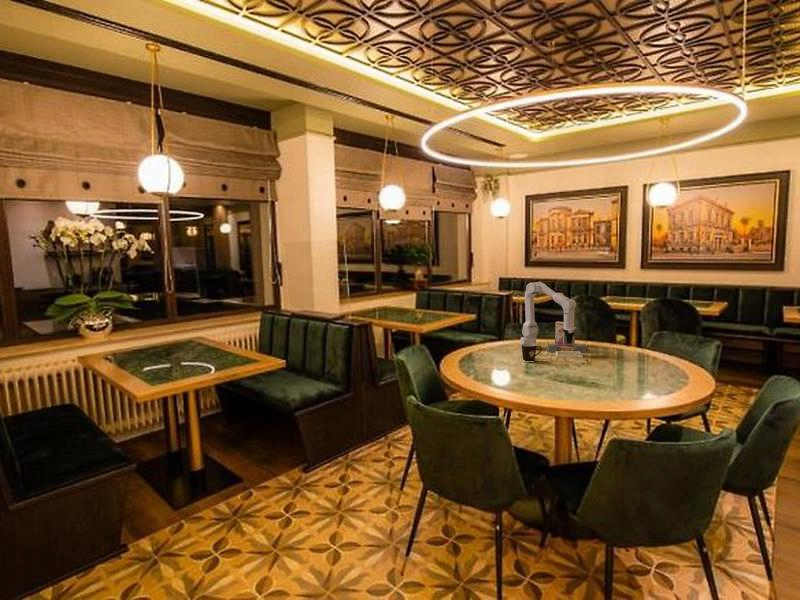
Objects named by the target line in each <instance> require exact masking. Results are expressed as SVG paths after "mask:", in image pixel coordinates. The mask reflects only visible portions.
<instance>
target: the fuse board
mask: <svg viewBox="0 0 800 600" xmlns="http://www.w3.org/2000/svg"><path fill="white" fill-rule="evenodd" d="M571 348H572V350H571V351H575V346H573V347H571ZM545 349H546V350H545V351H546V352H545V354H549V353H548V346H546V348H545ZM588 350H589V348H588V346H586V353H584V354H590V353H589V351H588ZM559 351H562V346H559Z"/></svg>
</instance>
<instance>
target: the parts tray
mask: <svg viewBox="0 0 800 600" xmlns="http://www.w3.org/2000/svg"><path fill="white" fill-rule="evenodd" d="M555 356H556V358H560V359H561V358H563V359H564V358H565V359H567V358H569V359H574V358H575V359H583V358H584V357H583V356H584V355H583V353H581V352H578V351H572V350H561V351H556V353H555Z"/></svg>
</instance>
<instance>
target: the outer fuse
mask: <svg viewBox="0 0 800 600" xmlns="http://www.w3.org/2000/svg"><path fill="white" fill-rule="evenodd" d="M574 347H575V351H578V352H581V354H585V353H586V347H587V345H586V344H585V343H584V344H581V343H580V344H579V343H577V344H576V343H575V345H574Z"/></svg>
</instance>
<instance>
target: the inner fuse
mask: <svg viewBox="0 0 800 600" xmlns="http://www.w3.org/2000/svg"><path fill="white" fill-rule="evenodd" d="M559 347H560V346H559V345H558V344H555V343H547V351H548V353H547V354H556V351H559Z"/></svg>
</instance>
